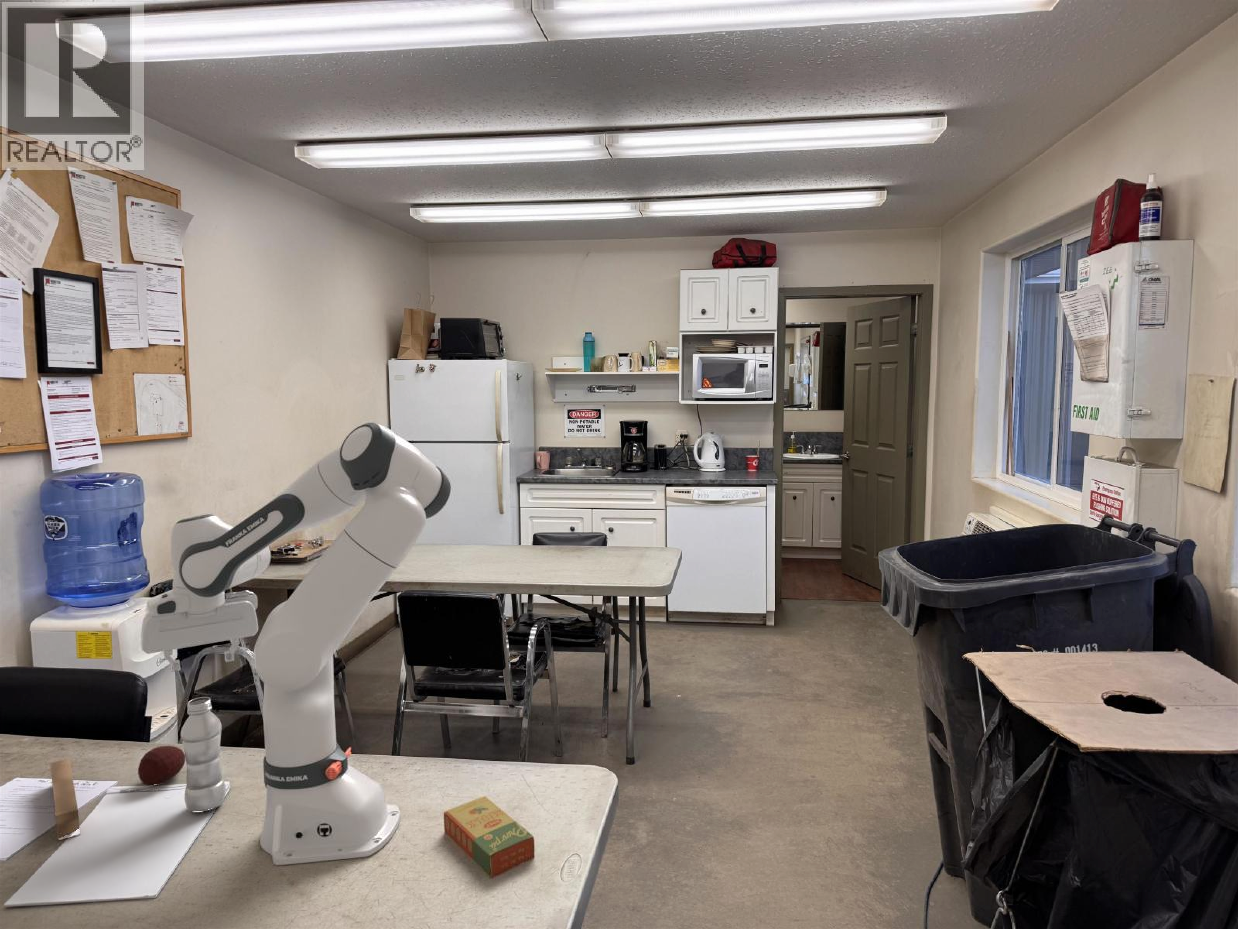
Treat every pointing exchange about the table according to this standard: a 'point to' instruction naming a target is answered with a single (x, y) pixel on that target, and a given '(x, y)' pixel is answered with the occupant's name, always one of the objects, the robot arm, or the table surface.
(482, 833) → the carton
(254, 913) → the table surface
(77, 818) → the board
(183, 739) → the plastic bottle
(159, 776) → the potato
